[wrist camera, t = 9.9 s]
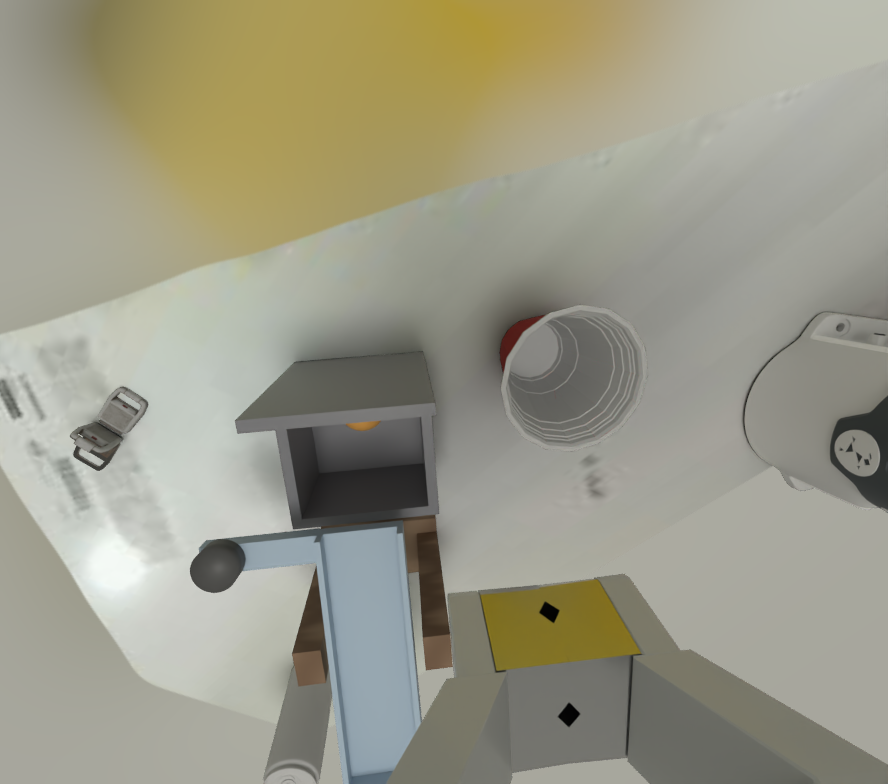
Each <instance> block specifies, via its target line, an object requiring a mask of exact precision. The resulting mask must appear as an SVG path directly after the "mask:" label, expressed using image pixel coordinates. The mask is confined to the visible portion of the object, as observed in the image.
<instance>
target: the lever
mask: <svg viewBox="0 0 888 784" xmlns="http://www.w3.org/2000/svg"><path fill="white" fill-rule="evenodd" d="M312 563H316V566H317V574H318V582H319V590H320V598H321V607H322V615H323V623H324V631H325V639H326V647H327V656H328V664H329V672H330V680H331V688H332V696H333V705H334V713H335V721H336V728H337V737H338V745H339V753H340V762H341V770H342V778H343V784H386V783H387V781H388V779H389V777H390V776H391V774H392V772H393V771H394V769H395V767H396V765H397V764H398V762H399V760H400V758H401V757H402V755H403V753H404V752H405V750H406V748H407V746H408V745H409V743H410V741H411V739H412V738H413V736H414V734H415V733H416V731H417V729H418V727H419V726H420V724H421V722H422V718H421V707H420V696H419V688H418V687H419V686H418V675H417V665H416V654H415V643H414V633H413V622H412V612H411V601H410V590H409V580H408V569H407V559H406V548H405V537H404V527H403V520H401V521H391V522H382V523H372V524H363V525H353V526H344V527H334V528H325V529H310V530H301V531H291V532H282V533H273V534H263V535H254V536H244V537H235V538H225V539H216V540H206V541H205V542H204V543H203V544H202V546H201V547H200V548H199V554H198V555H197V556H196V557H195V558H194V560H193V561H192V564H191V567H190V575H191V578H192V580H193V582H194V583H195V585H196V586H198V587H199V588H200V589H202V590H204V591H207V592H211V593H217V592H222V591H224V590H226V589H228V588H229V587H231V586H232V585H233V583H234V582H235V580H236V579H237V578H238V576H239V575H240V573H241V572H242V571H248V570H257V569H266V568H275V567H284V566H294V565H303V564H312Z"/></svg>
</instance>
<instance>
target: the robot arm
mask: <svg viewBox="0 0 888 784" xmlns="http://www.w3.org/2000/svg"><path fill="white" fill-rule="evenodd" d="M837 325H838V327H837ZM836 327H837V329H836ZM745 430H746V435H747V438H748V441H749V443H750V445H751V447H752V448H753V450H754V451H755V452H756V454H757V455H758V456H759V457H760V458H762V459H763V460H764V461H766V462H767V463H769V464H771V465H772V466H774V467H776V468H777V469H778V470H779V471H780V472H781V474H782V476H783V478H784V479H785V481H786V482H787V484H788V485H789V486H791V487H792V488H795V489H797V490H800V491H806V490H810V489H813V488H815V489H818V490H820V491H822V492H824V493H826V494H829V495H831V496H833V497H835V498H838V499H840V500H842V501H844V502H847V503H849V504H851V505H853V506H855V507H858V508H860V509H864V510H870V509H872V508H881V509H882V510H884V511H886V512H887V513H888V320H883V319H875V318H868V317H861V316H853V315H846V314H838V313H831V312H824V313H821V314H819V315H818V316H816V317H815V318H814V319H813V320H812V322H811V323H810V324H809V325H808V327H807V328H806V329H805V331H804V332H803V334H802V335H801V336H800V338H799V339H798V340H796V341H795V342H794V343H793V344H791V345H790V346H789V347H787V348H786V349H784V350H783V351H782V352H780V353H779V354H778V355H777V356H775V357H774V358H773V359H772V360H771V361H770V362H769V363H768V364H767V366H766V367H765V368H764V369H763V370H762V372H761V373H760V375H759V376H758V378H757V379H756V381H755V383H754V385H753V387H752V389H751V391H750V394H749V396H748V400H747V404H746V409H745ZM448 611H449V623H450V635H451V647H452V659H453V671H454V678H450V679H446V681H445V682H444V684H443V686H442V688H441V690H440V691H439V693H438V695H437V696H436V698H435V700H434V701H433V703H432V705H431V707H430V708H429V710H428V712H427V714H426V715H425V717H424V719H423V720H422V722H421V724H420V726H419V727H418V729H417V731H416V733H415V734H414V736H413V738H412V739H411V741H410V743H409V745H408V746H407V748H406V750H405V752H404V753H403V755H402V757H401V758H400V760H399V762H398V764H397V765H396V767H395V769H394V771H393V772H392V774H391V776H390V777H389V779H388V781H387V783H386V784H510V783H511V780H512V773H514V772H519V771H526V770H532V769H538V768H544V767H550V766H556V765H563V764H568V763H579V762H590V761H600V760H609V759H620V758H628V762H629V763H630V764H631V765H632V766H633V767H634V768H635V769H636V770H637V771H638V772H639V773H640V774H641V775H642V776H643V777H644V778H645V779H646V780H647V781H648V782H649V783H650V784H888V765H887V764H886V763H884V762H882V761H880V760H879V759H877V758H875V757H874V756H872V755H870V754H868V753H867V752H865V751H863V750H862V749H860V748H858V747H857V746H855V745H853V744H851V743H850V742H848V741H846V740H845V739H842V738H841V737H839V736H838V735H836V734H834V733H833V732H831V731H829V730H827V729H826V728H824V727H822V726H821V725H819V724H817V723H815V722H814V721H812V720H810V719H808V718H807V717H805V716H803V715H802V714H800V713H798V712H797V711H795V710H793V709H791V708H790V707H788V706H786V705H785V704H783V703H781V702H779V701H778V700H776V699H774V698H772V697H771V696H769V695H767V694H766V693H764V692H762V691H760V690H759V689H757V688H755V687H754V686H752V685H750V684H748V683H747V682H745V681H743V680H742V679H740V678H738V677H737V676H735V675H733V674H731V673H729V672H728V671H726V670H725V669H723V668H721V667H719V666H718V665H716V664H714V663H713V662H710V661H709V660H708V659H706V658H704V657H702V656H701V655H699V654H697V653H695V652H694V651H692V650H680V649H679V648H678V646H677V645H676V643H675V642H674V640H673V639H672V638H671V636H670V635H669V633H668V632H667V631H666V629H665V628H664V626H663V625H662V623H661V622H660V620H659V619H658V618H657V616H656V615H655V613H654V612H653V610H652V609H651V608H650V606H649V605H648V603H647V602H646V600H645V599H644V598H643V596H642V595H641V593H640V592H639V591H638V589H637V588H636V586H635V585H634V583H633V582H632V581H631V579H630V578H629V577H628V576H626V575H625V574H619V575H612V576H604V577H597V578H594V579H587V580H578V581H570V582H561V583H553V584H544V585H533V586H522V587H511V588H499V589H488V590H478V592H477V591H470V592H459V593H449V594H448Z"/></svg>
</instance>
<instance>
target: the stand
mask: <svg viewBox="0 0 888 784" xmlns="http://www.w3.org/2000/svg"><path fill="white" fill-rule="evenodd" d="M401 520H403V527H404V537H405V548H406V559H407V569H408V573H411V572H419V580H420V597H421V614H422V631H423V644H424V655H425V665H426V670H431V669H439V668H447V667H453V666H452V653H451V640H450V630H449V622H448V615H447V607H446V600H445V592H444V584H443V577H442V569H441V562H440V554H439V546H438V539H437V531H436V519H435V515H425V516H416V517H407V518H397V519H388V520H378V521H369V522H359V523H350V524H340V525H331V526H321V529H325V528H334V527H344V526H353V525H363V524H372V523H382V522H391V521H401ZM292 656H293V661H294V666H295V671H296V676H297V681H298V687H299V686H307V685H314V684H322V683H326V680H327V675H328V669H329V664H328V656H327V647H326V639H325V631H324V623H323V615H322V607H321V598H320V590H319V582H318V574H317V566H316V569H315V572H314V576H313V580H312V583H311V587H310V591H309V594H308V598H307V601H306V605H305V609H304V612H303V616H302V620H301V623H300V627H299V631H298V634H297V638H296V641H295V645H294V649H293V652H292Z"/></svg>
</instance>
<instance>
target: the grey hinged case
mask: <svg viewBox="0 0 888 784" xmlns="http://www.w3.org/2000/svg"><path fill="white" fill-rule="evenodd" d="M120 392H121V393H123V394H125V395H126V396H128V397H129V398H131V399H133V400H134V401H136V402H137V403H139V404H140V405H141V408H140V409H139V411H138V410H137V409H135V408H134V407H132V406H131V405H129V404H127V403H126V402H124V401H123V400H121V399H119V398H118V397H117V396H118V395H119V393H120ZM147 407H148V402H147V401H146V400H145V399H143V398H142V397H141V396H139V395H138V394H136V393H134V392H133V391H131V390H130V389H127V388H126V387H120V388H118V389H116V390H115V391H114V392H113V393H112V394H111V395H110V396H109V397H108V399H107V401H106V403H105V404H104V406H103V408H102V409H101V411H100V413H99V415H98V418H99V419H100V420H99V422H101V423H102V424H104V425H106V426H107V427H109V428H111V429H112V430H114V431H116V432H117V433H119V434H120V435H121V434H123V433H124V434H126V433H128V432H129V431H131V429H132V428H133V427H134V426H135V425H136V423H137V422H138V421H139V420H140V419H141V417H142V416H143V415H144V413H145V411H146V409H147ZM78 434H80V435H82V436H83V438H82V437H81V436H79V435H78ZM70 437H71V438H72V439H74V440H75V442H74V444H75V445H77V446H76V448H75V450H74V454H73V455H74V457H75V458H76V459H78V460H80V461H82V462H83V463H85V464H87V465H88V466H90V467H92V468H93V469H95V470H98V471H100V470H102V469H103V468H104V467H105V466H106V465H108V464H109V463H110V461H111V459H112V458H113V456H114V454H115V453H116V451H117V449H118V448H119V446H120V442H121V441H122V439H121V437H120V436H118V435H116V434H115V433H113V432H112V431H110V430H108V429H107V428H105V427H103V426H102V425H100V424H97V423H91V424H88V425H84V426H81V427H78V428H77V429H76V430H74V431H73V432H72V433H71V434H70ZM81 448H82V449H84V450H85V451H87V452H89V453H92V454H93V455H95V456H97V457H98V458H100V459H102V460H103V461H105V462H104V463H103V464H102V465H101V466H97V465H95V464H94V463H92V462H90V461H89V460H87V459H85V458H83V457H82V456H80V455H79V451H80V449H81Z"/></svg>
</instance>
